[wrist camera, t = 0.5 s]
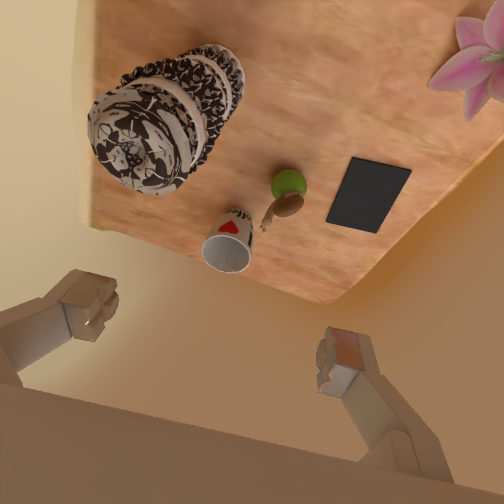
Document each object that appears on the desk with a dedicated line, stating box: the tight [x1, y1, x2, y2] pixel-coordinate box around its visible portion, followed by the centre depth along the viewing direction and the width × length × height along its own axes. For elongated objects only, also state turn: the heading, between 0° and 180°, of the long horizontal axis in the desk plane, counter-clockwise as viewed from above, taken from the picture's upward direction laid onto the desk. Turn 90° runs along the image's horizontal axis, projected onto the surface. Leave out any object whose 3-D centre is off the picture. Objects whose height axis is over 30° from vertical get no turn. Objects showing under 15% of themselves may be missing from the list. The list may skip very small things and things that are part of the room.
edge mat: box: [326, 157, 412, 233], centre depth 48 cm, size 12×9×1 cm
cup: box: [201, 208, 253, 273], centre depth 51 cm, size 8×8×10 cm
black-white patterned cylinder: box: [88, 44, 245, 195], centre depth 30 cm, size 9×9×25 cm
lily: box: [427, 0, 504, 122], centre depth 31 cm, size 12×12×10 cm
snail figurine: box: [260, 169, 307, 233], centre depth 43 cm, size 5×6×12 cm
